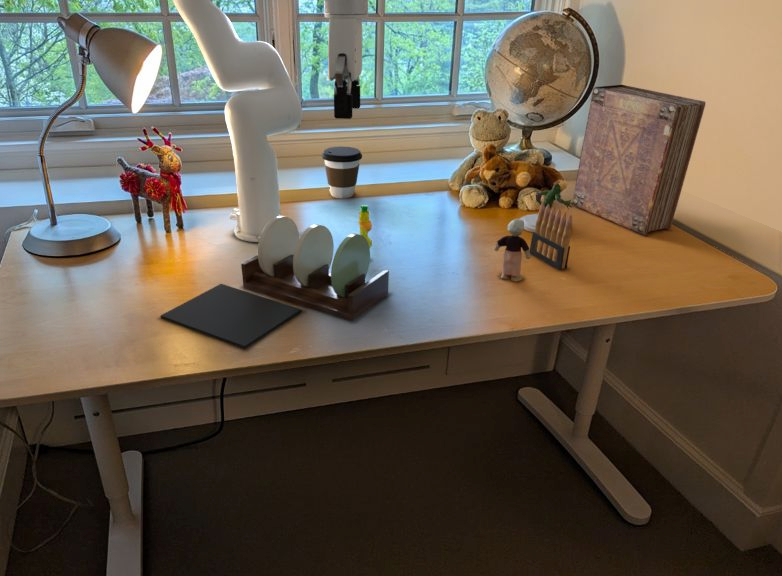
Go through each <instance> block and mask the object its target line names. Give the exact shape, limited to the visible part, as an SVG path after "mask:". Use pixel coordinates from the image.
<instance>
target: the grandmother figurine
mask: <svg viewBox="0 0 782 576" xmlns="http://www.w3.org/2000/svg"><path fill="white" fill-rule="evenodd" d="M506 230H507V231H508V232H509V233H510V235H505V236H502V237H500V238H499V239H498V240H497V241H496V244H495V246H493V251H495V252H498V251H499V250H500V248H502V247H505V249H504V253H503V258H502V266H501V267H502V268H501V275H500V278H501V279H502V280H509V279H510V278H511V279H510V280H511V281H512V282H514V283H515V282H516V283H517V282H520V281H522V280H523V279H524V278H523V276H522V275H521V271H522V270H521V269H522V259H523V258H522V255H523V254H524V255H525V259H526V260H530V259H531V257H532V254H530V251H529V250H530V246H529V245H528V242H527V240H525V239H524V238H523V237H521V235H522V234H523V232H524V230H525V229H524V221H523V220H521V219H520V218H514V219H512V220H511V221H510V222H509V223H508V224H507V227H506ZM522 251H523V252H524V253H522Z"/></svg>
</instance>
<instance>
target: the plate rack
mask: <svg viewBox="0 0 782 576" xmlns="http://www.w3.org/2000/svg"><path fill="white" fill-rule="evenodd" d="M293 257H294V255H290V256H288V257H286V258H285V259H283V260H281V261H279V262H277V263H275V264H274V276H275V277H273V276H269V275H267V274H265V273H264V272H263V270H262V269H261V267H260V265H259V261H258V254H257V255H254V256H253V257H251V258H249V259H247V260H245V261H243V262H241V263H240V266H241V267H240V269H241V278H242V286H243V287H242V288H244V289H247V290H250V291H254V292H257V293H260V294H263V295H267V296H270V297H272V298H276V299H279V300H283V301H285V302H289V303H292V304H296V305H298V306H301V307H305V308H308V309H311V310H313V311H318V312H319V313H320V312H321V313H324V314H327V315H329V316H334V317H337V318H340V319H343V320H346V321H349V322H352V323H353V322H354V321H356V320H357V319H358V318H359V317H361V316H362V315H364V314H365V313H366V312H368V311H369V310H370V309H371V308H373V307H375V306H376V304H378V303H379V302H380V301H382V300H383V299H385V298H386V297H387V296H388V295H389V280H390V279H389V278H390V277H389V276H390V271H389V270H387V269H383V270H382V271H381V272H379V273H378V274H376V275H374V277H372V278H370V279H369V280H367V281H366V278H365V274H362V275H361V276H359V277H358V278H356V279H355V280H353V281H352V282H350V283H349V284H347V285H346V298H344V297H340V296H338V295H337V294H336V293H335V292H334V290H333V287H332V283H331V272H330V268H329V264H326V265H324V266H322V267H320V268H319V269H317V270H315V271H314V272H312V273H310V274H309V287H306V286H303V285H301V284H300V283H299V282H298V281H297V279H296V277H295V275H294V270H293Z"/></svg>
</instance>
